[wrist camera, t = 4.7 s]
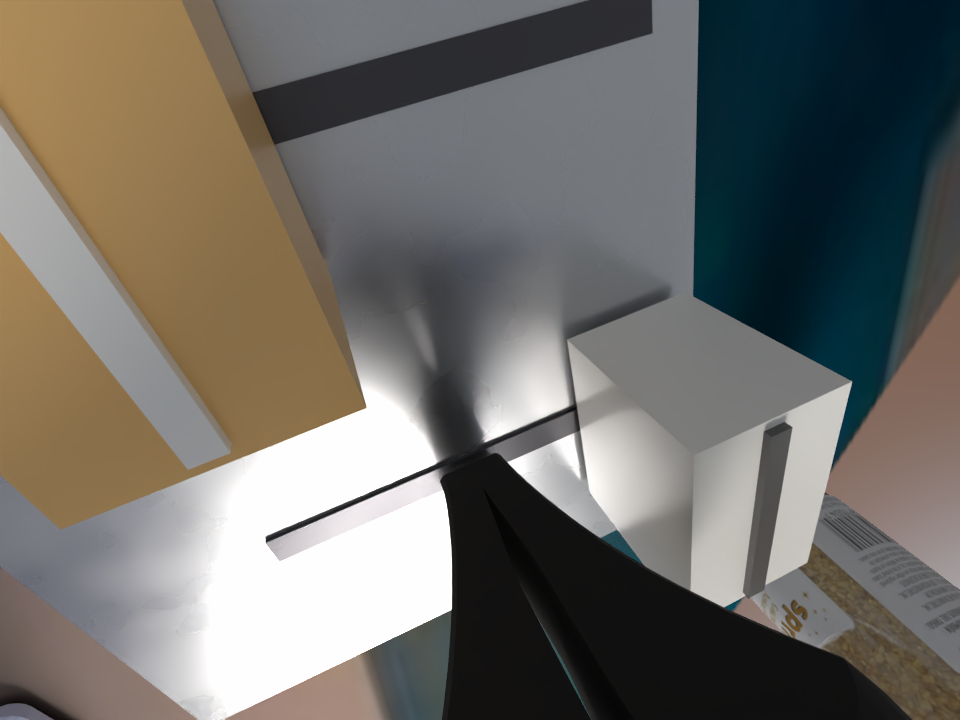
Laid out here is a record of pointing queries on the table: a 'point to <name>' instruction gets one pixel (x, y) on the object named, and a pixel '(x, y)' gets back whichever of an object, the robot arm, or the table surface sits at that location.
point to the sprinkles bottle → (874, 612)
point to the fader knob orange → (148, 260)
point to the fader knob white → (706, 443)
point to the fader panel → (404, 324)
